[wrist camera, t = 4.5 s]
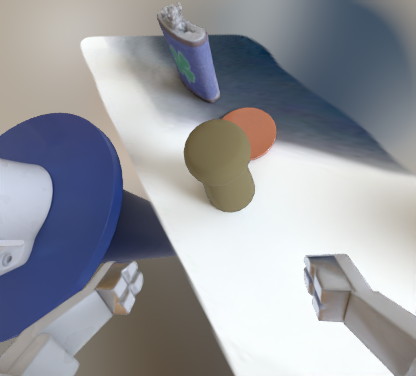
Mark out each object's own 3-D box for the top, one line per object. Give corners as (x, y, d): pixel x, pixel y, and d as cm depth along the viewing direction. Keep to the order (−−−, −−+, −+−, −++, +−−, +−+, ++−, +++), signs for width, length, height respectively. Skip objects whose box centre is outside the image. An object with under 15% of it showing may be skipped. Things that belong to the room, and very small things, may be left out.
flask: (223, 96, 28) (207, 10, 18) (208, 108, 28) (183, 29, 18) (189, 67, 31) (159, -17, 21) (176, 78, 31) (140, -1, 21)
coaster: (238, 173, 23) (238, 171, 23) (205, 133, 26) (204, 130, 26) (289, 136, 23) (290, 134, 23) (250, 100, 26) (250, 97, 26)
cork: (197, 186, 24) (157, 141, 14) (233, 157, 24) (219, 91, 14) (226, 222, 22) (203, 200, 12) (265, 190, 22) (277, 141, 12)
